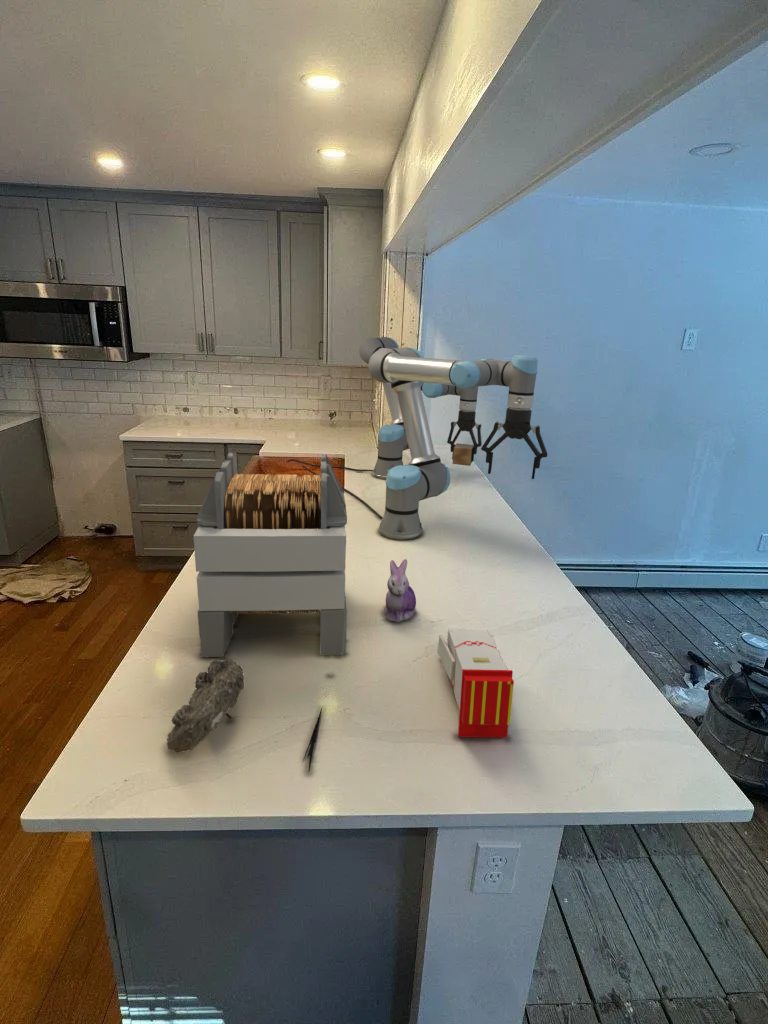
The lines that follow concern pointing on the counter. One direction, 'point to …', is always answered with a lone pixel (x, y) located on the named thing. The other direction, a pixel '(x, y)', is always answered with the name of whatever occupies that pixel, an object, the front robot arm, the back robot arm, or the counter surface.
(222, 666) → the fossil
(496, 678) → the toy
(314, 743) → the feather
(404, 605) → the figurine
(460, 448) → the block
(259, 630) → the counter surface
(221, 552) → the record crate
